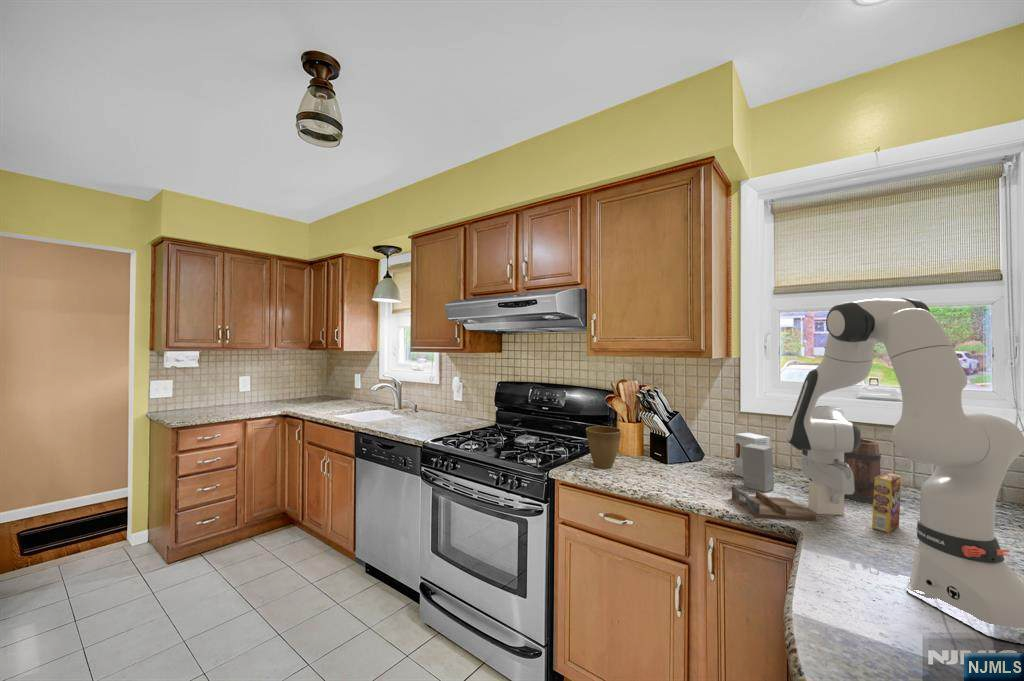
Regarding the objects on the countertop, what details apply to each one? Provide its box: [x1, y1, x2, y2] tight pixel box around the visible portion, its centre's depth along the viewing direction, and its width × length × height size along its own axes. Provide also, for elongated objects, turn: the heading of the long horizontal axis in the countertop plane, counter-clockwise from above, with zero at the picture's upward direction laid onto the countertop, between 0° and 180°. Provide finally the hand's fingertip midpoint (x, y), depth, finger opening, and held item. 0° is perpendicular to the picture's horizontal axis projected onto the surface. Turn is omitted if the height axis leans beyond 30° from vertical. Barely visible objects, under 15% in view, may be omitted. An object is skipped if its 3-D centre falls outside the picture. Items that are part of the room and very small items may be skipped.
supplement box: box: [733, 432, 771, 478], centre depth 174 cm, size 10×9×17 cm
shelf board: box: [731, 485, 817, 521], centre depth 139 cm, size 16×18×4 cm
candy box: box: [871, 472, 902, 534], centre depth 126 cm, size 9×4×15 cm, turn 123°
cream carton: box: [808, 480, 845, 516], centre depth 138 cm, size 5×8×9 cm, turn 86°
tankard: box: [808, 438, 882, 505], centre depth 155 cm, size 24×17×20 cm
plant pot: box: [585, 425, 622, 470], centre depth 184 cm, size 15×15×16 cm
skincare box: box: [742, 444, 775, 493], centre depth 160 cm, size 8×7×16 cm
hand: (826, 498), depth 138 cm, fingers open, 6 cm apart
